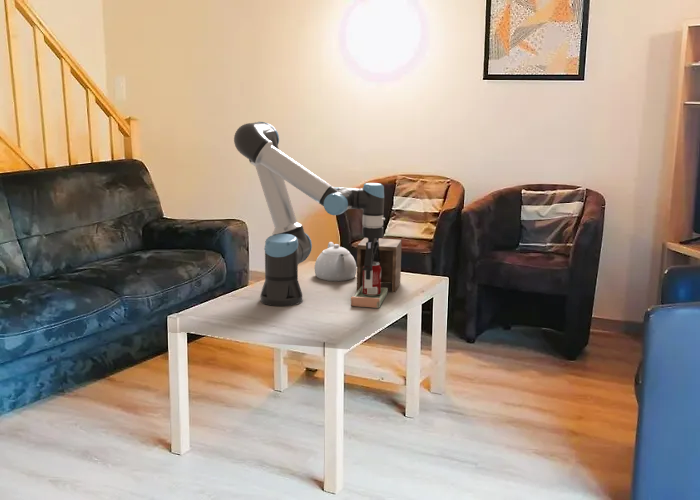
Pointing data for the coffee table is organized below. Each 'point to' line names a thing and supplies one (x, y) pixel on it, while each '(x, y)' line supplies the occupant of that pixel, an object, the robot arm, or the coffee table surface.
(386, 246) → the open wooden crate
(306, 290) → the coffee table surface
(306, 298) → the coffee table surface
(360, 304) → the tray
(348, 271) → the teapot
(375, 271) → the soda can
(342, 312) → the coffee table surface
